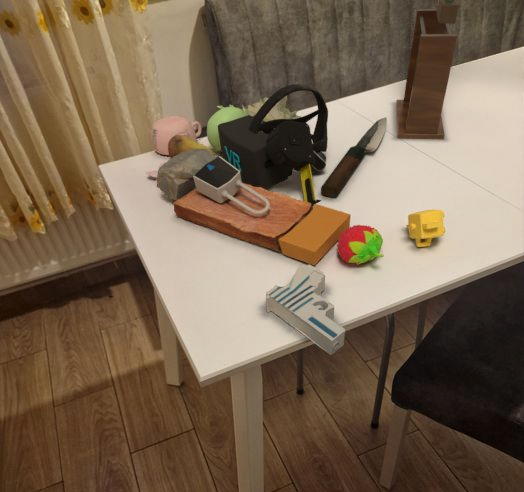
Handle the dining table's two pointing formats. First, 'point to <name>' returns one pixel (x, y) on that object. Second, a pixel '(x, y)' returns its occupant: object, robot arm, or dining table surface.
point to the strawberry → (359, 244)
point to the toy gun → (307, 308)
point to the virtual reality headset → (254, 143)
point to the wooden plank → (269, 221)
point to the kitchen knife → (354, 159)
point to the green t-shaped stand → (447, 11)
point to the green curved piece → (222, 117)
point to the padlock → (224, 183)
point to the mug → (172, 131)
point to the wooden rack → (426, 78)
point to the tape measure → (294, 153)
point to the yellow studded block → (426, 226)
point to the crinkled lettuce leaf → (273, 110)
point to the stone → (182, 172)
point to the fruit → (184, 145)
